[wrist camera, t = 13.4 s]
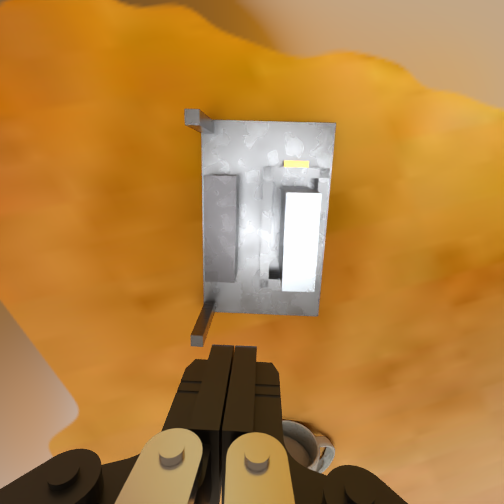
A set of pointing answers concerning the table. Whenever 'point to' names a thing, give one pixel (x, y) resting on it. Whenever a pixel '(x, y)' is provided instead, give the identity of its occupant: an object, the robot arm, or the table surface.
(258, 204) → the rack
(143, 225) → the table surface
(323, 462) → the ceramic mug
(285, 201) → the grey rectangular block
